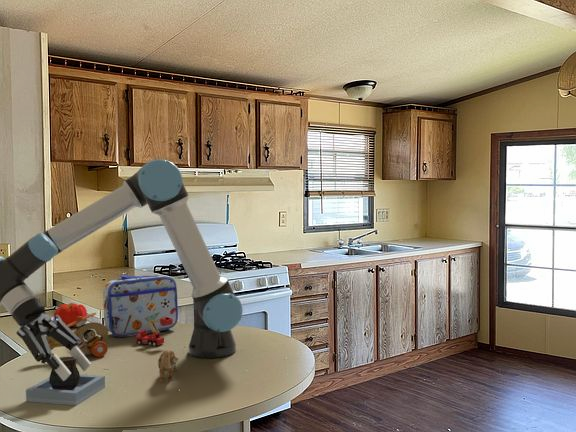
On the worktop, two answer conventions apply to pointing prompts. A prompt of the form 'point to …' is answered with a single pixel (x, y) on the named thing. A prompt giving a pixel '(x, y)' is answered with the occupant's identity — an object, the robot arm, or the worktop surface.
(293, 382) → the worktop surface
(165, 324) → the toy fire truck
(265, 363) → the worktop surface
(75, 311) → the tomato
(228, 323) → the robot arm
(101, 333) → the toy helicopter
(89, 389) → the tray
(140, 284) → the lunch box
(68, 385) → the mate gourd
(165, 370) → the lion figurine
